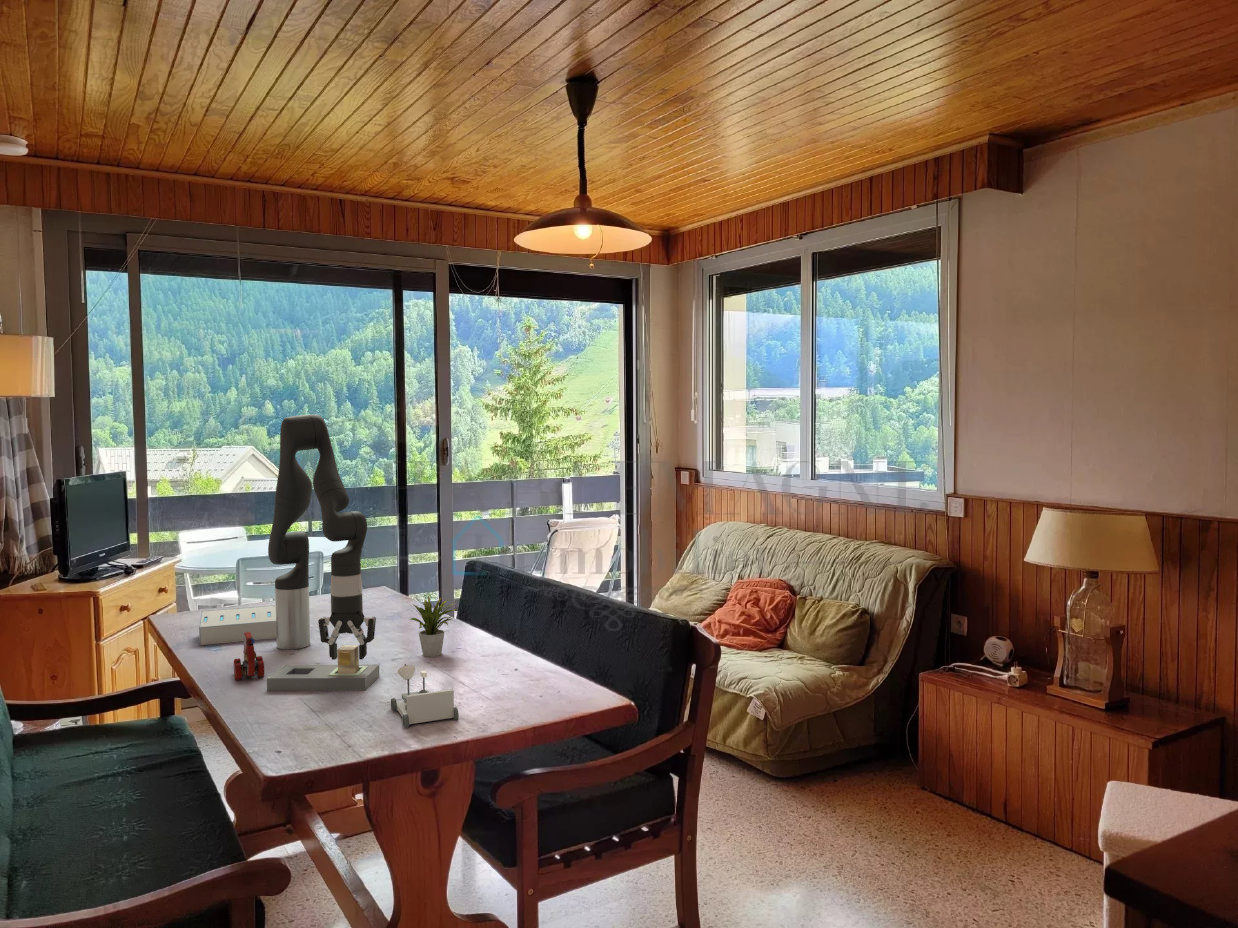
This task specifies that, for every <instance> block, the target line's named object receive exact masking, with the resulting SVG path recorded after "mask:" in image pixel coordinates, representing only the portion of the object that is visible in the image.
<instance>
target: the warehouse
mask: <svg viewBox="0 0 1238 928" xmlns="http://www.w3.org/2000/svg"><path fill="white" fill-rule="evenodd" d="M198 629H199V630H198V631H199V632H198V633H199V634H198V635H199V638H198V639H199V646H204V645H205V646H207V645H215V644H216V645H217V644H226V643H236V642H237V643H238V642H244V633H245V632H250V633H251V635H252V637H253V638H254V640H255V641H258V640H269V639H270V640H271V639H276V604H274V605H264V606H250V607H239V608H238V607H237V608H226V609H213V610H211V609H210V610H201V613H200V620H199V627H198Z"/></svg>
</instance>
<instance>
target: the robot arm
mask: <svg viewBox="0 0 1238 928" xmlns="http://www.w3.org/2000/svg"><path fill="white" fill-rule="evenodd" d="M279 430H280V434H279V464H278V465H279V466H278V475H277V481H276V488H275V494H274V495H275V497H274V498H275V499H274V512H273V518H272V519H273V521H272V525H271V530H270V535H269V539H268V544H267V545H268V547H267V555H268V559H269V562H271V564H273V565H282V566H283V565H294V567H293V568H292V569H291V570H290V571H288V572H286V573H284V574H281V575H280V576H278V577H277V578H275V579H274V580H275V581H274V596H275V600H274V601H275V605H276V638H275V640H276V648H277V649H281V650H295V649H303V648H306V647H309V646H310V645H311V616H310V587H309V586H310V585H309V584H310V582H309V581H310V580H309V579H310V578H309V577H310V576H309V575H310V574H309V573H310V572H309V569H310V568H309V565H310V564H309V563H310V559H309V558H310V541H309V540H310V539H309V536H308V534H307V533H306V532H305V531H302V530H301V531H288V530H289V529H290V528H291V526H292V525H293V524H294V523H296V522H297V521H298V520H299V519H300V518H301V517H302V516H303V515H304V514H305V512H306V511H307V510H308V508H309V507H310V504H311V499H312V491H313V490H314V493H315V495H316V498H317V500H318V503H319V505H320V511H321V520H322V521H321V523H322V526H321V527H322V533H323V536H324V537H325V538H326V539H327V540H328V541H330V542H333V543H334V542H335V543H336V542H343V541H347V543H346V544H345V547H343V548H342V549H338V550H336V551H335V550H334V552H332V553H331V557H330V574H331V576H330V577H331V578H330V589H329V592H330V613H331V614H330V616H329V617H326V616H322V617H321V618H319V619H318V620H317V621H318V630H319V636H320V642H321V643H322V644H324V643H326V644H328V656H329V658H331V660H332V661H335V660H338V657H337V649H338V643H337V640H338V638H339V636H340V634H349V635H350V634H351V635H352V634H353V635H354V637H355V638H356V640H357V642H358V643H359V644H358V647H359V661H362V660H364V659H365V657H366V656H367V654H368V650H367V649H368V648H367V647H368V645H367V644H368V643H371V642H372V641H373V640H374V639H375V633H376V619H377V618H376V617H375V616H373V615H372V616H370V617H367V616H365V614H364V611H363V610H364V609H363V608H364V607H363V606H364V605H363V603H364V602H363V580H362V571H361V570H362V567H361V566H362V565H361V559H362V558H361V557H362V552H363V547H364V543H365V540H366V536H367V532H368V522H367V519H366V516H365V515H364V513H362V512H361V511H344V510H345V509H346V508H347V507H348V506H349V503H350V499H349V495H348V492H347V490H346V488H345V486H344V483H343V481H342V479H341V475H340V473H339V470H338V466H337V463H336V457H335V453H334V449H333V446H332V441H331V438H330V434H329V430H328V426H327V424H326V422H325V420H324V418H323V417H322V416H321V415H319V414H315V413H314V414H313V413H312V414H310V413H309V414H302V415H301V414H299V415H292V416H287V417H285V418H283V420H282V422H281V425H280V429H279ZM315 449H316V450H318V453H319V454H318V455H319V459H318V463H317V466H316V468H315V471H314V474H313V478H312V480H311V479H310V477H309V475H308V474H307V472H306V471H305V470H304V469H303V468H302V466H301V465H300V464H299V462H298V460H297V459H296V456H297V453H298V452H300V451H309V450H315ZM342 511H343V512H342ZM330 623H331V625H332V627H334V629H333V630H332V633H331V636H329V635H330V634H329V628H328V626H329V625H330ZM363 623H365V625H366V627H367V630H366V632H367V633H366V635H365V633H364V630H363V628H362V624H363Z"/></svg>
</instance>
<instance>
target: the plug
mask: <svg viewBox="0 0 1238 928" xmlns="http://www.w3.org/2000/svg"><path fill="white" fill-rule="evenodd" d="M337 665H338V674H351V673H357V672H358V671H359V665H360V660H359V644H358V645H354V644H353V645H349V644H348V645H347V644H346V645H341V646H340V647H339V648H337Z"/></svg>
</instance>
